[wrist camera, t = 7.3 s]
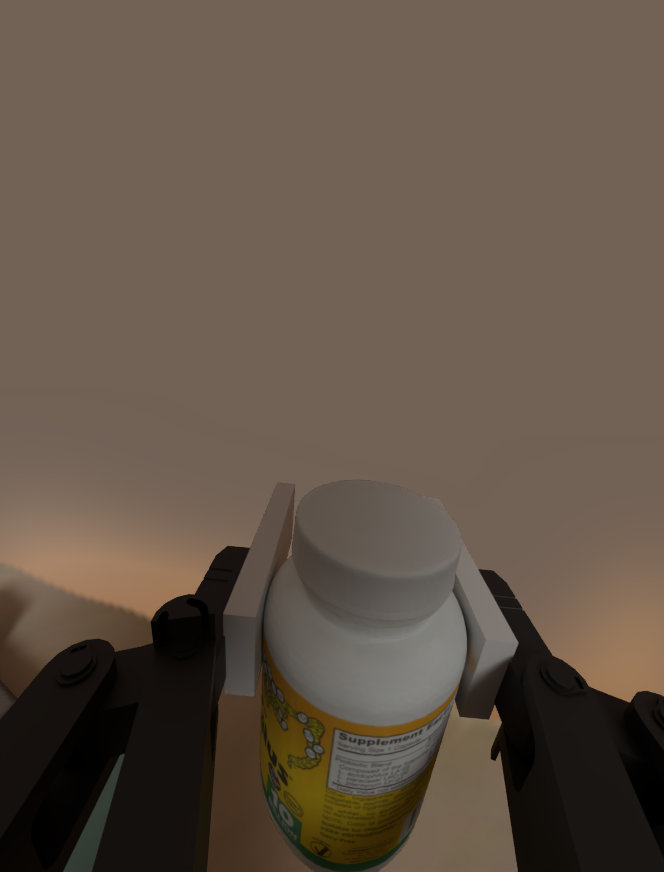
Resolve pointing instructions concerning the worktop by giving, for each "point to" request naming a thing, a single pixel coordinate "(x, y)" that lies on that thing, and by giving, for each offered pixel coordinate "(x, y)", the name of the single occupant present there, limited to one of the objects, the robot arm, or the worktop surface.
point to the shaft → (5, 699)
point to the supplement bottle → (358, 671)
